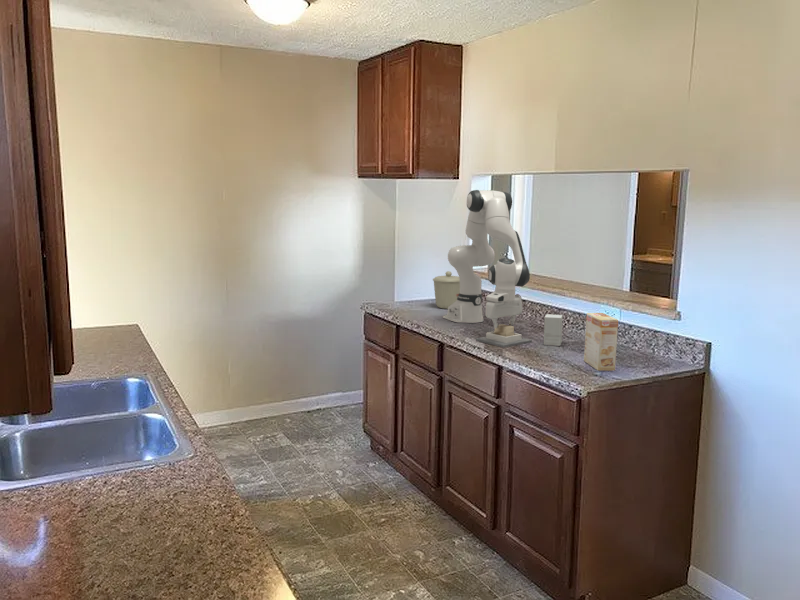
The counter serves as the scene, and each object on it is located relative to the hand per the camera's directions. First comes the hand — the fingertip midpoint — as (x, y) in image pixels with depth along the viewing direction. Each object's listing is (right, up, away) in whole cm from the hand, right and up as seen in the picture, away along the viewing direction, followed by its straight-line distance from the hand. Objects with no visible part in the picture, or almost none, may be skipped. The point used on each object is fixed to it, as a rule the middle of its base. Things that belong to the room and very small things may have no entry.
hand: (503, 326), depth 294 cm
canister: (-19, +7, +86) cm, 89 cm away
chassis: (0, -7, +1) cm, 7 cm away
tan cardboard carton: (0, -6, +1) cm, 6 cm away
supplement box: (+21, -8, -3) cm, 23 cm away
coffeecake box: (+31, -14, -40) cm, 52 cm away
